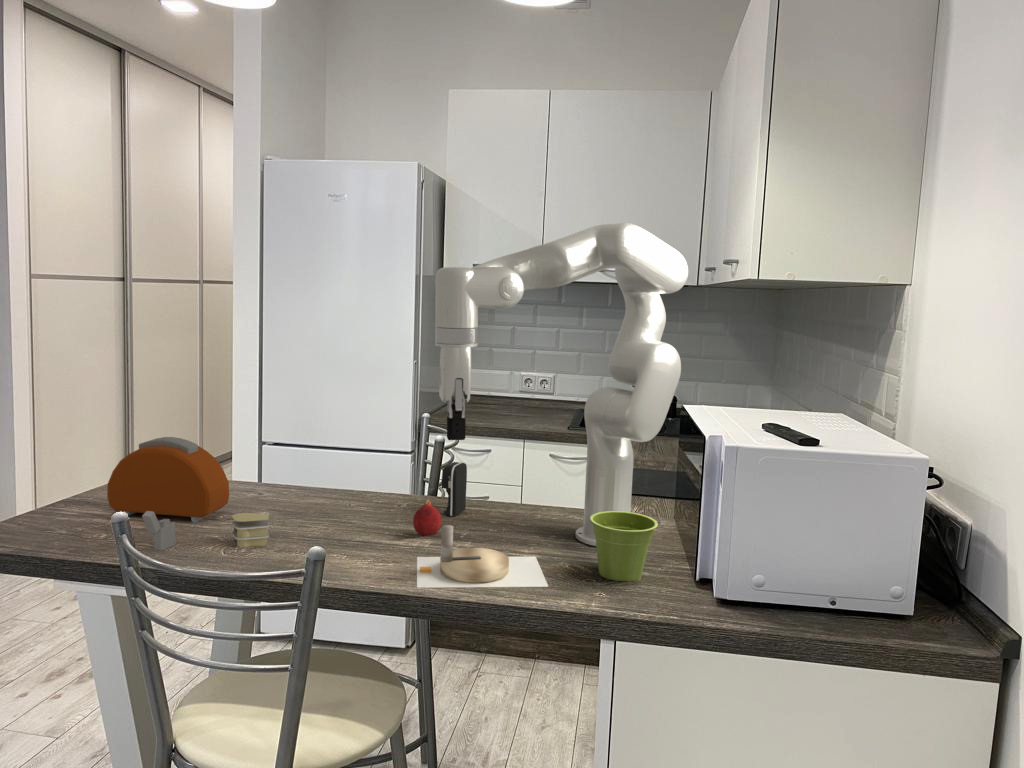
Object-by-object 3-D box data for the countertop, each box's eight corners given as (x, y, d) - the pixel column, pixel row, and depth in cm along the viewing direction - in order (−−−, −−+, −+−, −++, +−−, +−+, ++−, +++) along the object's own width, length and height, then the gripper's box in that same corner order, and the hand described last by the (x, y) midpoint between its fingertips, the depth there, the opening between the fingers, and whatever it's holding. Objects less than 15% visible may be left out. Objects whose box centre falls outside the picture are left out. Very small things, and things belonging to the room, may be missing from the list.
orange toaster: (230, 513, 175) (230, 438, 173) (209, 525, 166) (208, 445, 164) (132, 505, 178) (130, 431, 176) (106, 516, 169) (104, 438, 167)
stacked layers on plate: (277, 536, 161) (277, 509, 161) (276, 550, 153) (276, 522, 152) (224, 538, 159) (224, 511, 158) (221, 553, 150) (220, 524, 150)
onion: (436, 544, 159) (437, 505, 158) (408, 542, 160) (409, 503, 159) (444, 536, 164) (445, 498, 163) (417, 533, 165) (418, 495, 164)
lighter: (168, 543, 154) (167, 502, 153) (176, 544, 153) (175, 503, 152) (142, 554, 147) (141, 512, 146) (150, 555, 146) (149, 513, 146)
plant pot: (608, 597, 135) (611, 532, 133) (575, 573, 145) (578, 513, 144) (667, 589, 139) (671, 526, 138) (631, 567, 150) (634, 508, 149)
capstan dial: (499, 556, 148) (501, 514, 147) (516, 580, 136) (517, 534, 135) (435, 559, 145) (436, 516, 144) (446, 584, 133) (447, 537, 132)
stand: (535, 564, 150) (535, 553, 149) (548, 595, 135) (548, 583, 134) (416, 564, 147) (417, 553, 147) (416, 596, 132) (416, 584, 132)
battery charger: (451, 507, 185) (452, 459, 184) (466, 509, 184) (467, 461, 183) (438, 515, 179) (440, 465, 177) (454, 517, 177) (455, 467, 176)
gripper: (432, 334, 149) (432, 431, 151) (438, 341, 134) (438, 448, 136) (472, 334, 150) (472, 430, 152) (482, 341, 135) (481, 447, 138)
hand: (456, 438), depth 144 cm, fingers closed
